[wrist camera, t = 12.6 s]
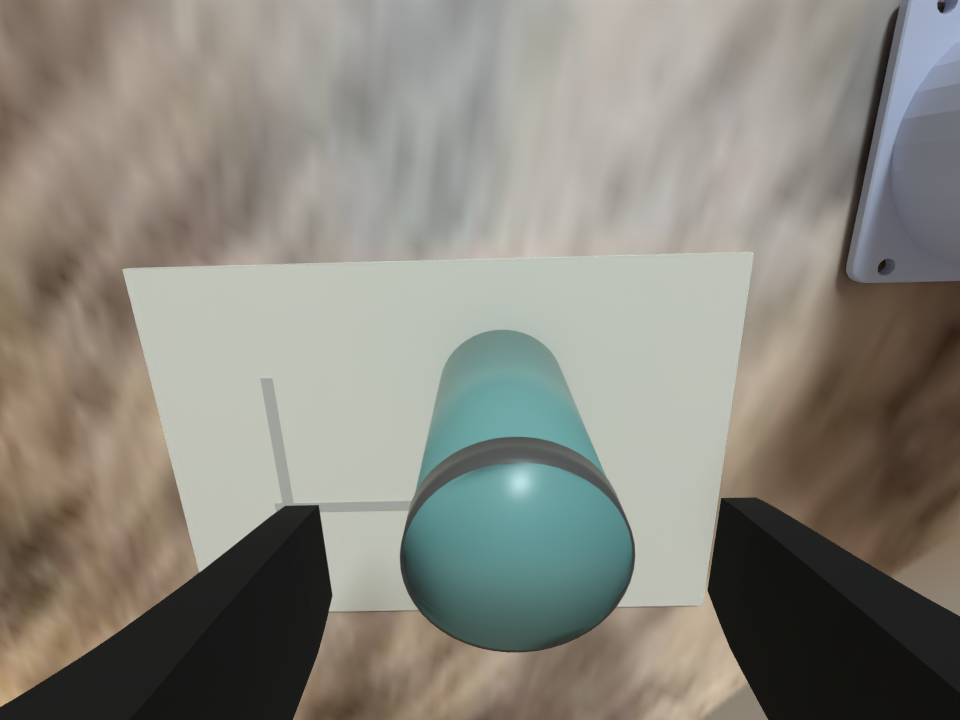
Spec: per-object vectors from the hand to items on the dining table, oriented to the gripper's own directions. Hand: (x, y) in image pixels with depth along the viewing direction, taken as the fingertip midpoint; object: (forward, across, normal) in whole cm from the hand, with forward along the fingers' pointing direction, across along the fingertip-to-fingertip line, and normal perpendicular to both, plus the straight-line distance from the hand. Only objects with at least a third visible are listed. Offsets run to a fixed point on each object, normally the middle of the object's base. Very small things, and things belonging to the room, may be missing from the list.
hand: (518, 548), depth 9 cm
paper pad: (+9, +2, +3) cm, 10 cm away
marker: (+9, 0, 0) cm, 9 cm away
